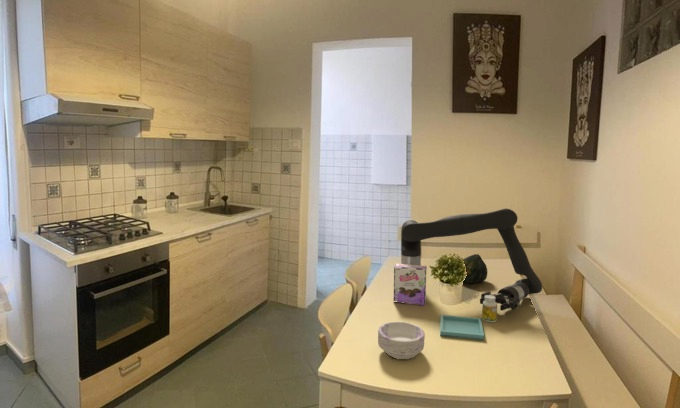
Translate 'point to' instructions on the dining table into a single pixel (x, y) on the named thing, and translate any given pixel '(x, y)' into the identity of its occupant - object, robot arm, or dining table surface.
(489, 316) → the supplement bottle
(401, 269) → the candy box
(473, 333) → the teal tray
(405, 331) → the paper bowls
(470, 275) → the squash
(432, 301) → the dining table surface
